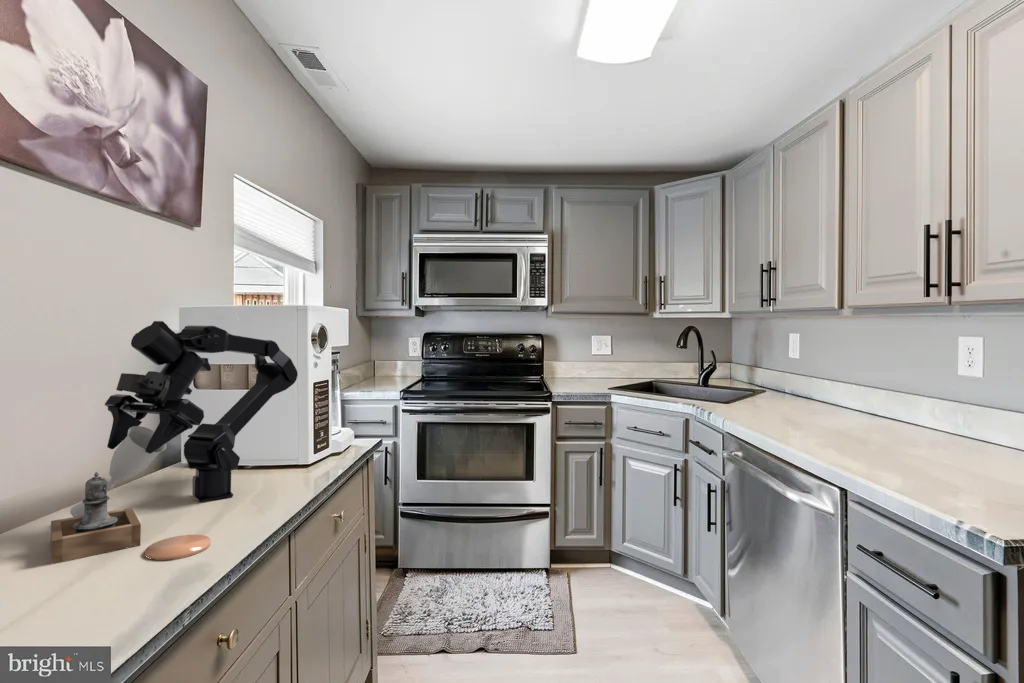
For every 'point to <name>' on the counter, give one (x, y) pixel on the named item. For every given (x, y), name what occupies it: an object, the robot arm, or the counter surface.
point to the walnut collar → (93, 536)
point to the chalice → (127, 460)
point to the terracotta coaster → (177, 547)
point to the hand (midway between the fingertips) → (128, 450)
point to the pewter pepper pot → (95, 507)
